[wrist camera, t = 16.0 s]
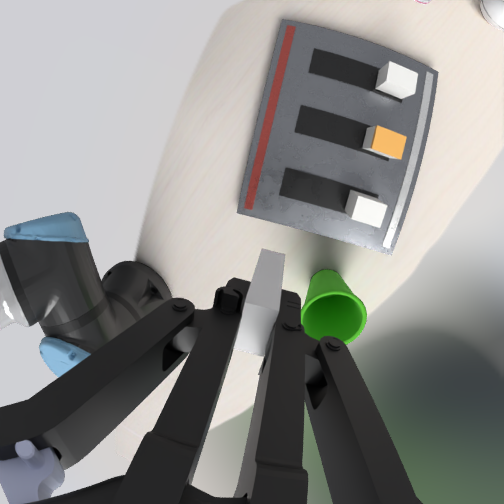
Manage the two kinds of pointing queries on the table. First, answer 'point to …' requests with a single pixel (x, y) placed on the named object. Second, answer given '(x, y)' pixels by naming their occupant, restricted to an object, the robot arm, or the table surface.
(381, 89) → the block
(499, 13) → the white oval ovoid
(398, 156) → the block
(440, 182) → the table surface
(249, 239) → the table surface
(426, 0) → the pill bottle
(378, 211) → the block
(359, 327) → the cup
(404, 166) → the panel
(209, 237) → the table surface
